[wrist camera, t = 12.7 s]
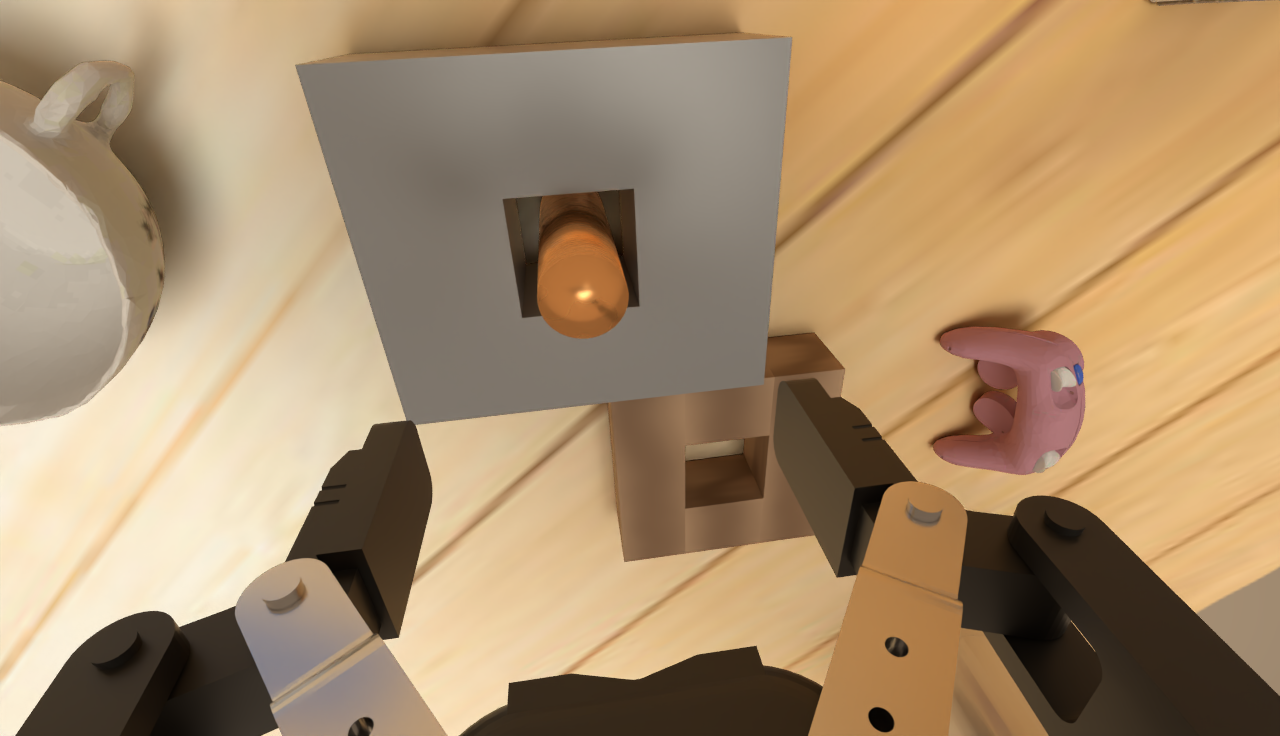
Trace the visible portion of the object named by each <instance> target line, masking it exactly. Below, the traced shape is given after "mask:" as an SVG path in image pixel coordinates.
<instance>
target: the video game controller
mask: <svg viewBox="0 0 1280 736" xmlns="http://www.w3.org/2000/svg"><path fill="white" fill-rule="evenodd" d="M940 345H941V346H942V347H943V348H944V349H945V350H946V351H948V352H950V353H951V354H954V355H957V356H959V357H962V358H968V359H976V360H980V361H979V363H978V373H979V375H980V377H981V379H982V380H983V381H984V382H985V383H986V384H988V385H989V386H991V387H994V388H997V389H1011V388H1014V387H1016V386H1018V393H1017V402H1016V401H1015V400H1014V399H1012V398H1011V397H1010V396H1008V395H1006V394H1004V393H1002V392H998V391H989V392H986V393H985V394H984V395H982V396H981V397H980V398H979V399H978V400H977V401H976V402H975V403H974V406H973V412H974V414H975V416H976V418H977V419H978V420H979V421H980V422H981V423H982V424H984V425H985V426H986V427H987V428H989V429H990V430H991V431H992V432H993V433H992V434H989V435H956V436H948V437H944V438H941V439H939V440H937V441H936V442H935V443H934V446H933V448H934V451H935V453H936V454H937V455H938V456H939V457H940V458H942V459H943V460H945V461H947V462H949V463H952V464H955V465H960V466H966V467H973V468H980V469H988V470H994V471H1000V472H1005V473H1011V474H1018V475H1026V474H1031V473H1034V472H1037V473H1042V472H1044V471H1045V469H1047V468H1049V467H1051V466H1053V465H1055V464H1056V463H1057V462H1058V461H1059V459H1060V458H1061V457H1062V456H1063V455H1064V454H1065V453H1066V451H1067V450H1068V449H1069V448H1070V447H1071V446H1072V444H1073V443H1074V441H1075V440H1076V437H1077V435H1078V433H1079V431H1080V429H1081V425H1082V422H1083V418H1084V411H1085V387H1084V383H1083V371H1082V370H1083V369H1084V360H1083V356H1082V353H1081V351H1080V350H1079V348H1078V347H1077V346H1076V345H1075V344H1074V343H1073V342H1072V341H1071V340H1070V339H1068V338H1067V337H1065V336H1063V335H1061V334H1058V333H1055V332H1051V331H1045V330H1040V331H1034V332H1029V331H1023V330H1015V329H1007V328H999V327H966V328H959V329H954V330H952V331H949V332H946V333H944V334H943V335H942V337H941V339H940Z"/></svg>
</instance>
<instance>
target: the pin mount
mask: <svg viewBox="0 0 1280 736" xmlns="http://www.w3.org/2000/svg"><path fill="white" fill-rule="evenodd" d="M844 373H845V368H844V367H843V366H842V365H841V364H840V362H839V361H838V360H837V359H836V358H835V357H834V355H833V354H832V353H831V352H830V351H829V349H828V348H827V347H826V346H825V345H824V344H823V342H822V341H821V340H820V339H819V338H818V336H817V335H816V334H815V333H807V334H798V335H788V336H779V337H770V338H768V339H767V351H766V363H765V376H764V385H757V386H748V387H740V388H731V389H722V390H713V391H705V392H696V393H687V394H679V395H670V396H661V397H653V398H644V399H635V400H626V401H618V402H609V403H608V412H609V423H610V435H611V446H612V458H613V469H614V481H615V492H616V503H617V514H618V521H619V528H620V535H621V542H622V549H623V555H624V562H628V561H635V560H642V559H649V558H656V557H663V556H670V555H677V554H684V553H691V552H699V551H706V550H713V549H720V548H727V547H734V546H741V545H748V544H755V543H762V542H769V541H776V540H783V539H790V538H797V537H804V536H811V535H815V534H814V532H813V530H812V528H811V526H810V524H809V522H808V520H807V518H806V516H805V514H804V513H803V511H802V509H801V507H800V505H799V503H798V501H797V499H796V497H795V495H794V493H793V491H792V489H791V487H790V485H789V483H788V481H787V479H786V478H785V476H784V474H783V472H782V470H781V468H780V466H779V464H778V462H777V459H776V455H775V451H774V443H773V434H774V424H775V413H776V403H777V393H778V386H779V384H780V382H781V381H787V380H796V379H805V378H816V379H817V380H818V381H819V383H820V384H821V385H822V387H823V388H824V389H825V391H826V392H827V393H828V395H829V396H830V397H831V398H834V397H841V391H842V385H843V379H844ZM744 438H745V439H744ZM735 439H744V454H740V455H732V456H724V457H717V458H709V459H701V460H693V461H685V446H687V445H695V444H703V443H711V442H719V441H727V440H735Z"/></svg>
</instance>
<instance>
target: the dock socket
mask: <svg viewBox="0 0 1280 736" xmlns="http://www.w3.org/2000/svg"><path fill="white" fill-rule="evenodd" d="M791 46H792V37H785V36H774V35H763V34H752V33H724V34H705V35H687V36H669V37H651V38H632V39H614V40H596V41H577V42H559V43H541V44H523V45H504V46H486V47H468V48H449V49H431V50H413V51H395V52H376V53H358V54H347V55H342V56H337V57H332V58H327V59H323V60H318V61H313V62H308V63H303V64H298V65H295V66H296V69H297V72H298V75H299V78H300V82H301V85H302V88H303V91H304V94H305V98H306V101H307V104H308V107H309V110H310V114H311V117H312V120H313V123H314V126H315V130H316V133H317V136H318V139H319V142H320V146H321V149H322V152H323V155H324V158H325V161H326V165H327V168H328V171H329V174H330V177H331V181H332V184H333V187H334V190H335V193H336V197H337V200H338V203H339V206H340V209H341V213H342V216H343V219H344V222H345V225H346V229H347V232H348V235H349V238H350V241H351V244H352V248H353V251H354V254H355V257H356V260H357V264H358V267H359V270H360V273H361V276H362V280H363V283H364V286H365V289H366V292H367V296H368V299H369V302H370V305H371V308H372V312H373V315H374V318H375V321H376V324H377V328H378V331H379V334H380V337H381V340H382V343H383V347H384V350H385V353H386V356H387V359H388V363H389V366H390V369H391V372H392V375H393V379H394V382H395V385H396V388H397V391H398V395H399V398H400V401H401V404H402V407H403V411H404V414H405V417H406V420H407V421H409V420H411V421H413V423H414V424H415V425H418V424H426V423H435V422H444V421H452V420H461V419H470V418H479V417H487V416H496V415H505V414H513V413H522V412H531V411H539V410H548V409H557V408H566V407H574V406H583V405H592V404H600V403H609V402H618V401H626V400H635V399H644V398H653V397H661V396H670V395H679V394H687V393H696V392H705V391H713V390H722V389H731V388H740V387H748V386H757V385H764V376H765V363H766V351H767V339H768V327H769V315H770V302H771V290H772V278H773V266H774V254H775V241H776V229H777V217H778V205H779V192H780V180H781V168H782V156H783V144H784V131H785V119H786V107H787V95H788V83H789V70H790V58H791ZM610 190H619V197H620V213H621V230H622V246H623V256H618V257H619V260H620V263H621V267H622V270H623V273H624V277H625V280H626V283H627V287H628V292H629V300H628V306H627V309H626V312H625V314H624V316H623V317H622V319H621V320H620V322H619V323H618V324H617V325H616V326H615V327H614V328H612V329H611V330H610V331H608V332H606V333H605V334H602V335H600V336H597V337H594V338H588V339H578V338H571V337H568V336H565V335H563V334H560V333H559V332H557V331H555V330H554V329H553V328H551V327H550V326H549V325H548V324H547V323H546V321H545V320H544V319H543V317H542V315H541V313H540V310H539V307H538V303H537V284H538V263H535V264H526V260H525V254H524V247H523V241H522V234H521V228H520V221H519V215H518V208H517V202H516V198H522V197H534V196H547V195H559V194H572V193H584V192H597V191H610Z"/></svg>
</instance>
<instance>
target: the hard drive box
mask: <svg viewBox="0 0 1280 736" xmlns="http://www.w3.org/2000/svg"><path fill="white" fill-rule="evenodd" d="M1150 1H1151V2H1156V3H1157V5H1159V6H1162V5H1175V4H1191V3H1213V2H1216V3H1220V2H1238V1H1263V0H1150Z"/></svg>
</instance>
